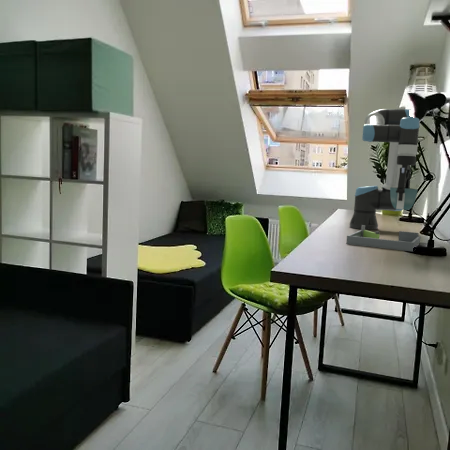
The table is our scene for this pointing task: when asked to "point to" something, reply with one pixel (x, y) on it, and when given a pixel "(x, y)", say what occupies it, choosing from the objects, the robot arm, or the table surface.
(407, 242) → the grey desk tray
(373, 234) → the gate
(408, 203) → the flower pot
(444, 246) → the table surface
